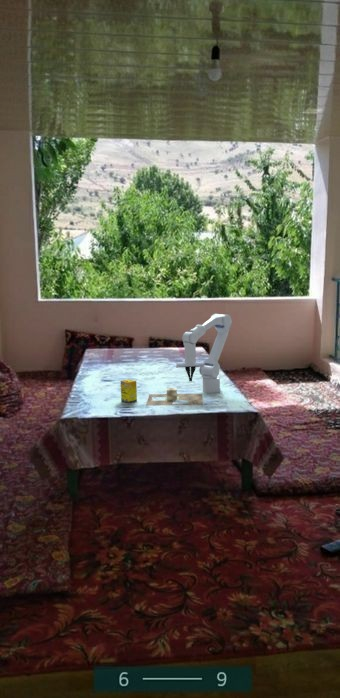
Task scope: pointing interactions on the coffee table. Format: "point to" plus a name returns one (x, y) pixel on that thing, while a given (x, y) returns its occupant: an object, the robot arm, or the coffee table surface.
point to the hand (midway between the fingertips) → (190, 380)
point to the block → (171, 393)
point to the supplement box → (128, 391)
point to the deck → (193, 399)
